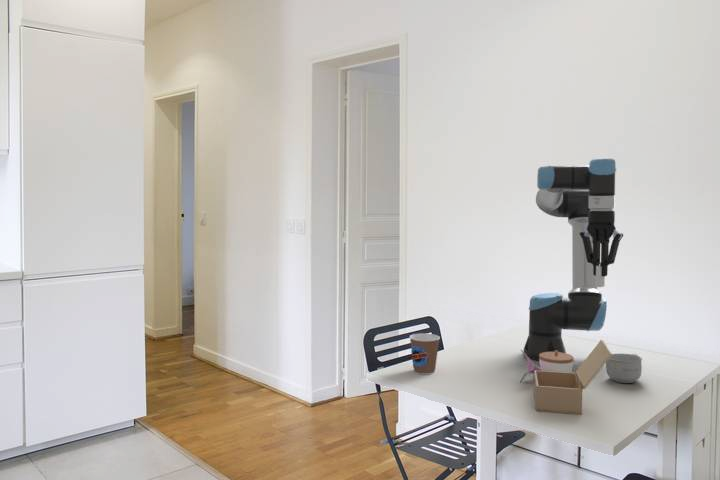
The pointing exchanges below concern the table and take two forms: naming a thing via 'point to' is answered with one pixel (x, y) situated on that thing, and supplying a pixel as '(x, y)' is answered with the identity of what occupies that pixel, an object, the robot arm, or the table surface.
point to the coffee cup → (424, 352)
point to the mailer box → (557, 392)
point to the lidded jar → (556, 361)
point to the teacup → (624, 367)
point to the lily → (530, 366)
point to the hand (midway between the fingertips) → (600, 286)
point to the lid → (593, 364)
